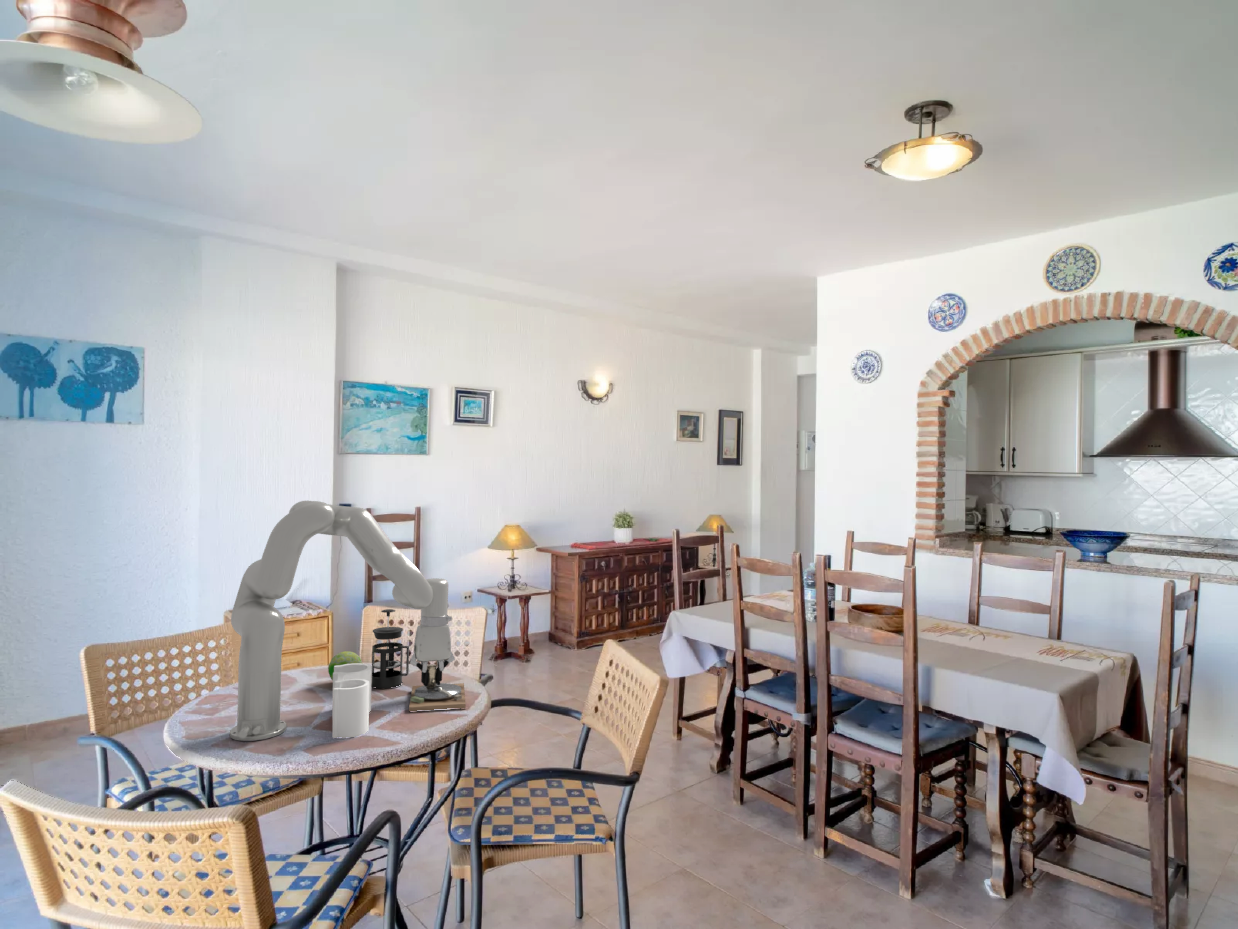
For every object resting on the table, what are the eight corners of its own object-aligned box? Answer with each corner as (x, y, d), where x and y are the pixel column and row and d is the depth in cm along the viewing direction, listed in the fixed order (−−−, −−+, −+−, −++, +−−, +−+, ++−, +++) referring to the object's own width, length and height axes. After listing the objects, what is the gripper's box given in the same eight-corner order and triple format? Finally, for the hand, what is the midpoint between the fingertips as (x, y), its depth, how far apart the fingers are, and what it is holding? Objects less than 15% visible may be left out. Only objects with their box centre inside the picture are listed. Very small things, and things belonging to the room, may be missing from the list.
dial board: (465, 709, 195) (465, 700, 195) (409, 712, 191) (409, 703, 191) (463, 688, 214) (464, 679, 214) (412, 690, 210) (412, 682, 210)
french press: (364, 689, 211) (365, 612, 212) (373, 680, 221) (375, 606, 221) (403, 689, 212) (405, 612, 212) (411, 680, 221) (413, 607, 222)
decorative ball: (367, 680, 221) (367, 648, 221) (353, 689, 211) (354, 656, 211) (336, 679, 221) (337, 647, 222) (321, 688, 211) (322, 655, 212)
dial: (471, 695, 201) (471, 670, 201) (428, 704, 193) (429, 678, 193) (448, 684, 212) (448, 660, 212) (407, 692, 203) (407, 667, 203)
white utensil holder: (371, 736, 174) (372, 687, 174) (328, 740, 170) (329, 690, 171) (370, 705, 197) (371, 661, 197) (333, 708, 194) (334, 664, 194)
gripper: (457, 617, 214) (455, 678, 213) (402, 620, 206) (400, 684, 205) (464, 621, 207) (462, 684, 206) (408, 625, 199) (405, 691, 199)
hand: (431, 683), depth 206 cm, fingers open, 3 cm apart
